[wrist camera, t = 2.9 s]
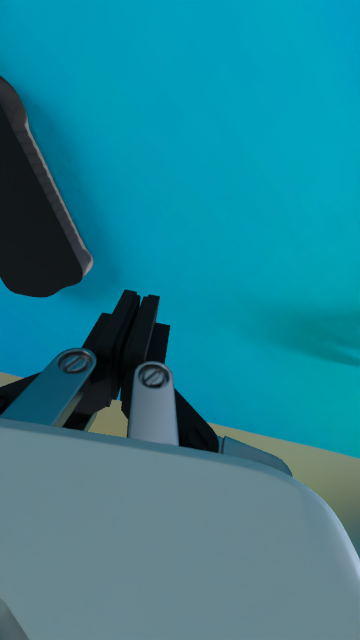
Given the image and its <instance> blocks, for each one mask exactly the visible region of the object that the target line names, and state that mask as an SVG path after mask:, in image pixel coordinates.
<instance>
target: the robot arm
mask: <svg viewBox="0 0 360 640" xmlns="http://www.w3.org/2000/svg"><path fill="white" fill-rule="evenodd" d="M140 298H141V296H140V295H137V292H135V291H130V290H124V292H123V294H122V296H121V298H120V300H119V302H118V304H117V305H116V307H115V309H114V311H113V313H112V314H108V313H102V314H101V315H100V317H99V319H98V321H97V322H96V324H95V326H94V327H93V329H92V331H91V332H90V334H89V336H88V337H87V339H86V341H85V342H84V344H83V346H82V347H81V348H71V349H67V350H65V351H63V352H61V353H60V354H59V355H57V356H56V357H55V358H54V359H53V360H52V361H51V362H50V364H49V365H48V366H47V367H46V368H45V369H44V370H43V371H42V372H40V373H37V374H34V375H32V376H29V377H26V378H24V379H21V380H18V381H16V382H13V383H10V384H8V385H5V386H2V387H0V640H360V559H359V557H358V555H357V553H356V551H355V549H354V547H353V545H352V543H351V541H350V539H349V537H348V535H347V533H346V531H345V529H344V528H343V526H342V524H341V522H340V521H339V519H338V518H337V516H336V514H335V513H334V512H333V511H332V509H331V508H330V507H329V505H327V503H326V502H325V501H324V500H323V499H322V498H321V497H320V496H318V495H317V494H316V493H315V492H314V491H312V490H311V489H310V488H308V487H307V486H306V485H304V484H302V483H301V482H299V481H298V480H296V479H295V478H293V476H292V473H291V471H290V469H289V468H288V466H287V465H286V464H285V463H284V462H283V461H282V460H281V459H279V458H278V457H276V456H274V455H272V454H269V453H267V452H264V451H262V450H259V449H257V448H254V447H252V446H249V445H247V444H245V443H242V442H240V441H237V440H235V439H232V438H230V437H227V436H225V437H224V438H222V437H220V436H217V435H216V434H215V432H214V431H213V429H212V428H211V427H210V426H209V425H208V424H207V423H206V421H205V420H204V419H203V418H202V417H201V416H200V415H199V414H198V413H197V412H196V411H195V410H194V409H193V407H192V406H191V405H190V404H189V403H188V402H187V401H186V400H185V399H184V398H183V397H182V396H181V394H180V393H179V392H178V391H177V390H176V389H175V388H174V381H173V374H172V371H171V370H170V369H169V367H167V366H166V365H165V357H166V351H167V344H168V337H169V331H170V325H165V324H160V323H156V317H157V311H158V305H159V299H160V296H155V295H150V294H149V295H148V297H145V296H144V297H143V300H142V302H141V305H140ZM139 307H140V308H139ZM120 388H121V394H120V401H122V406H121V410H122V412H123V413H124V415H125V416H126V418H127V419H128V427H127V438H124V437H118V436H111V435H105V434H99V433H92V432H88V431H89V429H90V427H91V425H92V423H93V422H94V420H95V418H96V415H97V412H98V411H99V410H101V409H103V408H105V407H110V404H111V401H112V399H113V400H117V397H118V394H119V391H120Z"/></svg>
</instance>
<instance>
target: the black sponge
mask: <svg viewBox="0 0 360 640" xmlns="http://www.w3.org/2000/svg"><path fill="white" fill-rule="evenodd" d="M92 265H93V259H92V256H91V254H90V253H89V252H88V251H87V249H86V248H85V246H84V243H83V241H82V239H81V238H80V236H79V234H78V231H77V229H76V227H75V225H74V223H73V221H72V219H71V217H70V215H69V212H68V210H67V208H66V206H65V204H64V202H63V200H62V197H61V195H60V194H59V191H58V189H57V187H56V185H55V183H54V181H53V179H52V175H51V173H50V172H49V170H48V167H47V165H46V163H45V161H44V159H43V156H42V154H41V152H40V150H39V148H38V146H37V144H36V142H35V140H34V138H33V136H32V134H31V132H30V130H29V125H28V119H27V114H26V110H25V108H24V106H23V104H22V102H21V100H20V98H19V96H18V94H17V93H16V91H15V90H14V88H13V87H12V86H11V85H10V84H9V83H8V82H7V81H6V80H5V79H4V78H3V77H1V76H0V277H1V279H2V281H3V283H4V284H5V286H6V287H7V288H8V289H9V290H10V291H12V292H14V293H16V294H21V295H26V296H31V297H48V296H51V295H54V294H55V293H56V292H58V291H59V290H60V289H62V288H65V287H68V286H72V285H75V284H77V283H79V282H80V281H81V280H82V278H83V277H84V276H85V275H86V273H87V272H88V271H89V270H90V269H91V268H92Z"/></svg>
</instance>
